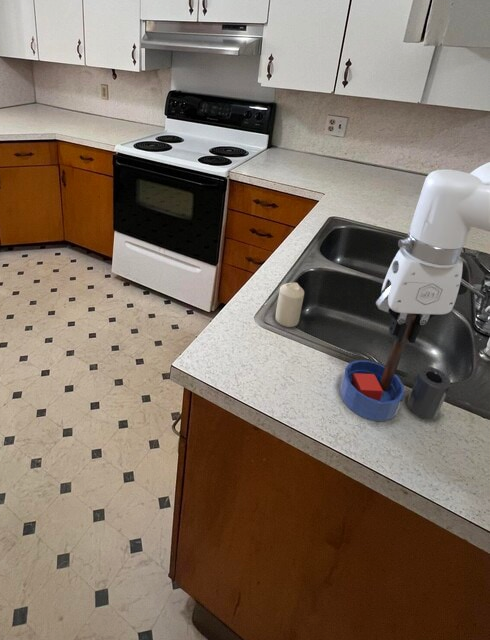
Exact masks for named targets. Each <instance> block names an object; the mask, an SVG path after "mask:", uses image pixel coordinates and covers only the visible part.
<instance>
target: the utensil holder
mask: <svg viewBox="0 0 490 640" xmlns="http://www.w3.org/2000/svg"><path fill="white" fill-rule="evenodd" d="M450 387H451V379H450V378H449V377H448V376H447V374H446V373H444V372H443V371H441V370H440V369H438V368H435V367H433V366H421V367H420V368H418V370H417V373H416V376H415V379H414V381H413V384H412V387H411V389H410V391H409V395H408V398H407V402H406V404H407V407H408V409H409V410H410V411H411V412H412V414H414V415H415V416H417V417H419V418H422V419H424V420H435V419H436V418H437V416H438V415H439V412H440V411H441V409H442V406H443V404H444V402H445V399H446V397H447V395H448V392H449V390H450Z"/></svg>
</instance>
